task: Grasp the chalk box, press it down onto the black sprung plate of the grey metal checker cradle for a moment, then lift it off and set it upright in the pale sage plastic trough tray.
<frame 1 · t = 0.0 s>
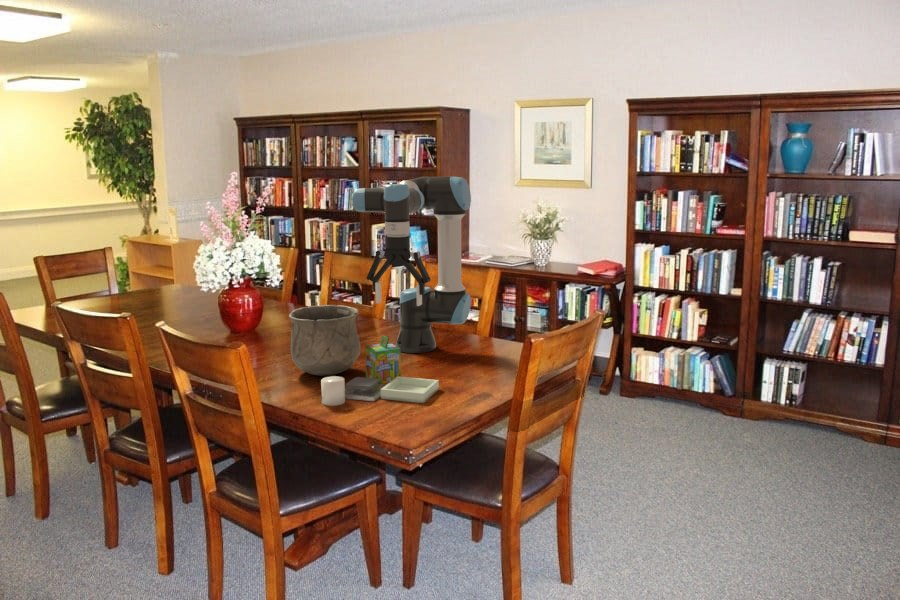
hand: (398, 303, 239), 28 cm above the table, fingers open, 13 cm apart
white cylinder: (333, 401, 234), on the table
checker plate: (362, 383, 241), point 3 cm above the table, slide at 0.0 cm
chalk box: (383, 381, 255), on the table
checker base: (363, 392, 242), on the table
pot: (326, 373, 264), on the table
trough tray: (410, 393, 241), on the table
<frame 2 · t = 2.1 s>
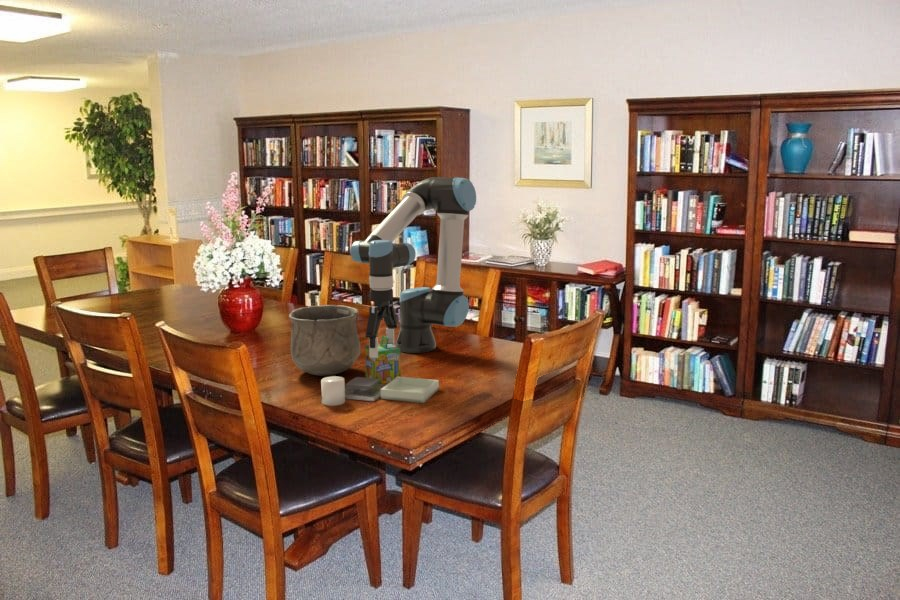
hand: (382, 352, 253), 10 cm above the table, fingers open, 13 cm apart
nothing on the table moved.
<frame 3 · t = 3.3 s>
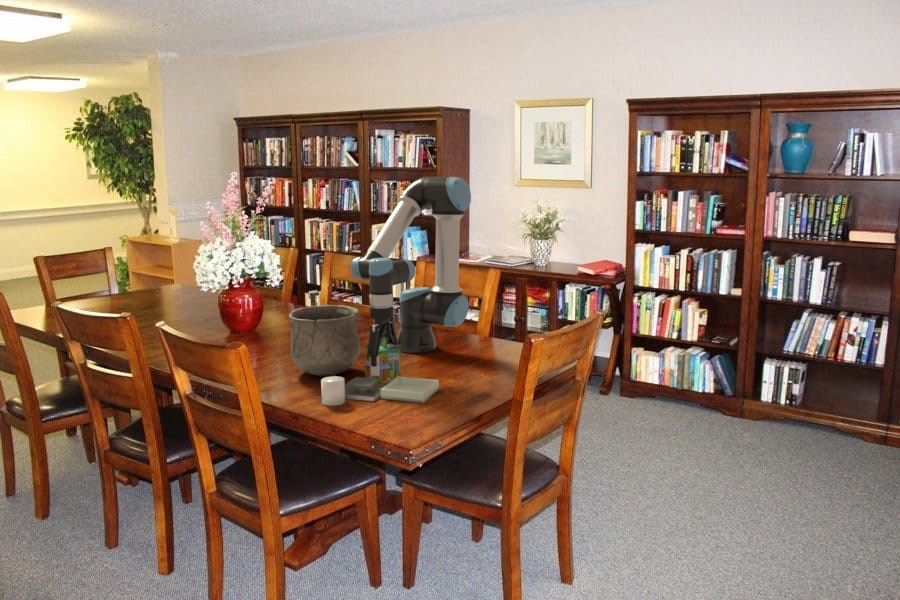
hand: (383, 370, 254), 4 cm above the table, fingers closed on chalk box, 12 cm apart
chalk box: (383, 381, 255), on the table, touching gripper
everything else where it was.
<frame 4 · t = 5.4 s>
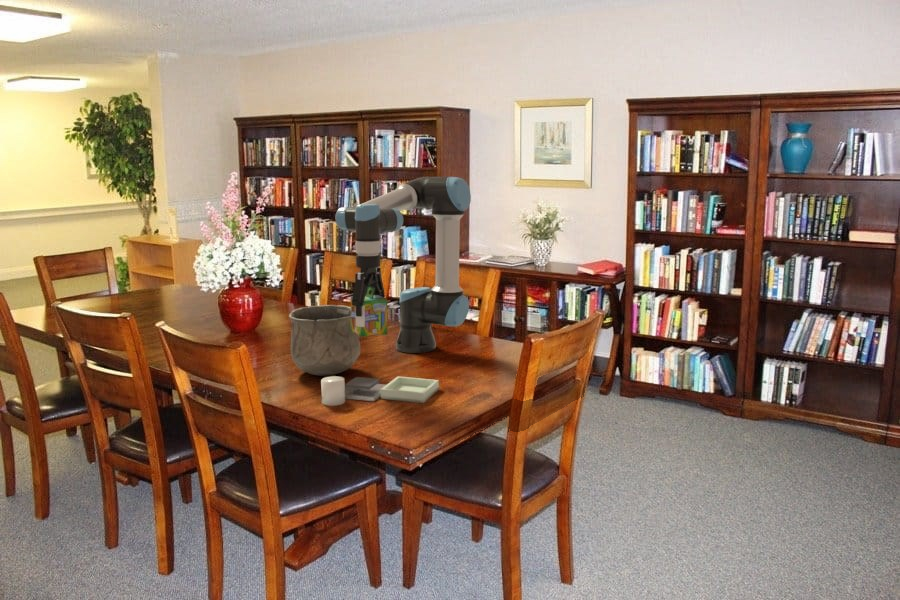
hand: (369, 322, 243), 22 cm above the table, fingers closed on chalk box, 12 cm apart
chalk box: (369, 333, 243), point 18 cm above the table, touching gripper
everything else where it was.
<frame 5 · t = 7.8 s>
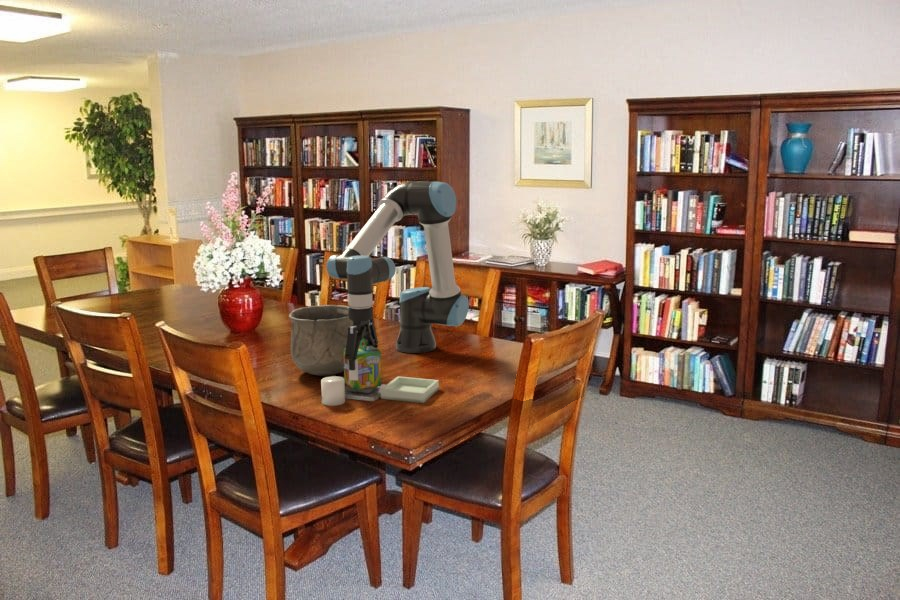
hand: (362, 373, 241), 6 cm above the table, fingers closed on chalk box, 12 cm apart
checker plate: (362, 386, 242), point 2 cm above the table, slide at 1.1 cm, touching chalk box
chalk box: (362, 385, 242), point 2 cm above the table, touching checker plate, gripper
everything else where it was.
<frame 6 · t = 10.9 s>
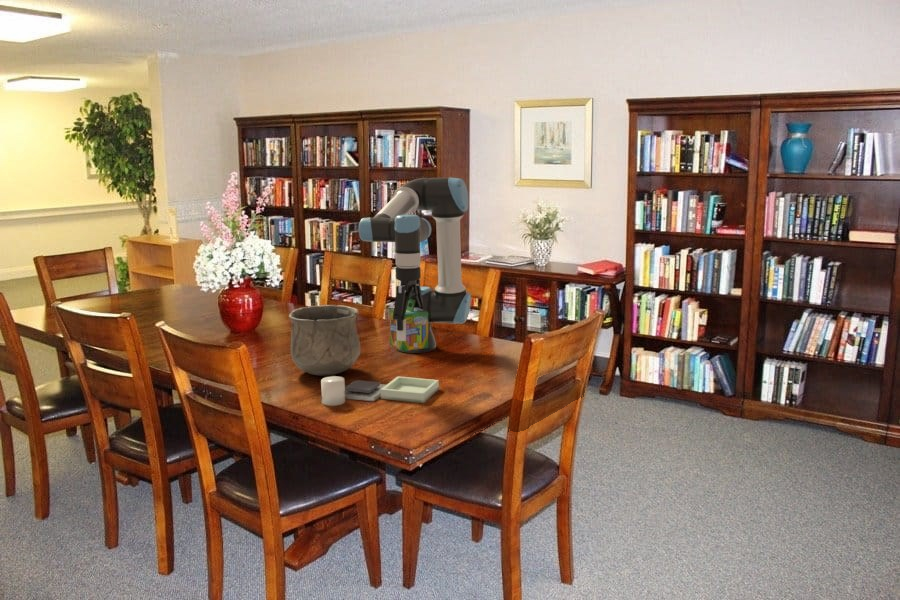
hand: (409, 335, 237), 19 cm above the table, fingers closed on chalk box, 12 cm apart
checker plate: (362, 386, 242), point 2 cm above the table, slide at 1.1 cm
chalk box: (409, 347, 238), point 15 cm above the table, touching gripper
everything else where it was.
when the fingers open (6 cm above the table, at t = 13.3 s): chalk box stays where it is, resting on trough tray.
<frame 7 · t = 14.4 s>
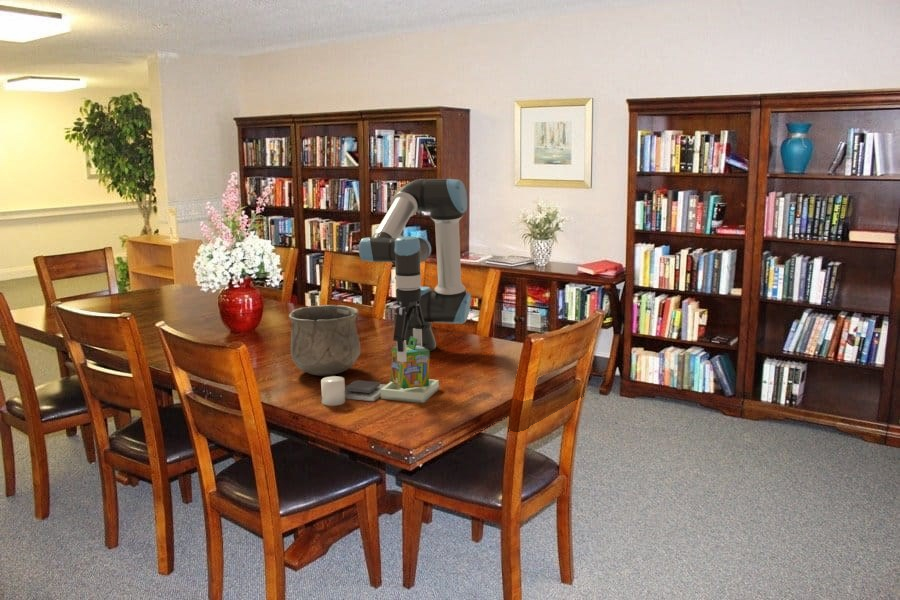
hand: (410, 355, 239), 12 cm above the table, fingers open, 13 cm apart
chalk box: (410, 384, 240), point 3 cm above the table, touching trough tray
everything else where it was.
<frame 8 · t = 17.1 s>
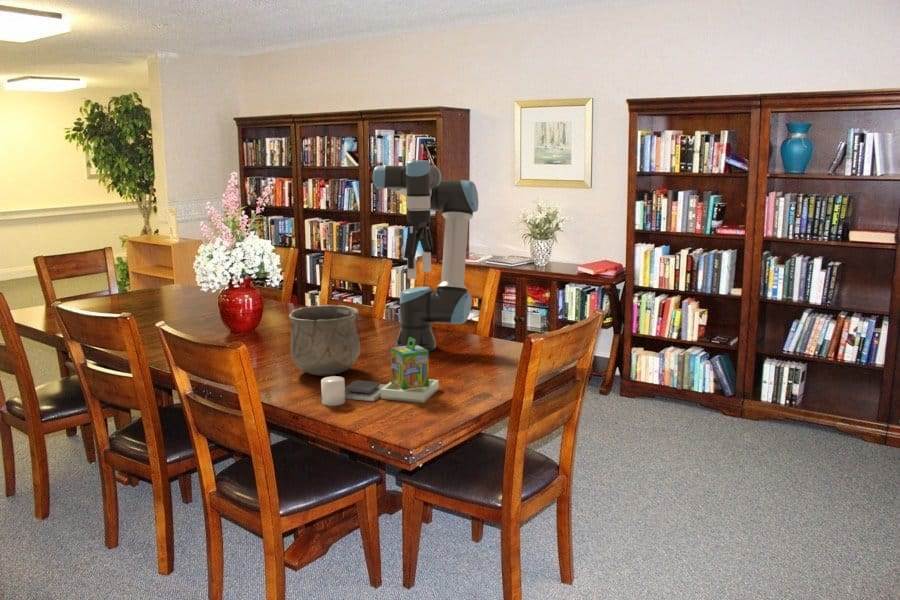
hand: (419, 275, 250), 35 cm above the table, fingers open, 13 cm apart
nothing on the table moved.
at the end: chalk box inside the target area on the trough tray (0.0 cm from its centre), point 2.8 cm above the trough tray's base; chalk box tilted 0°; the gripper is holding nothing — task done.
